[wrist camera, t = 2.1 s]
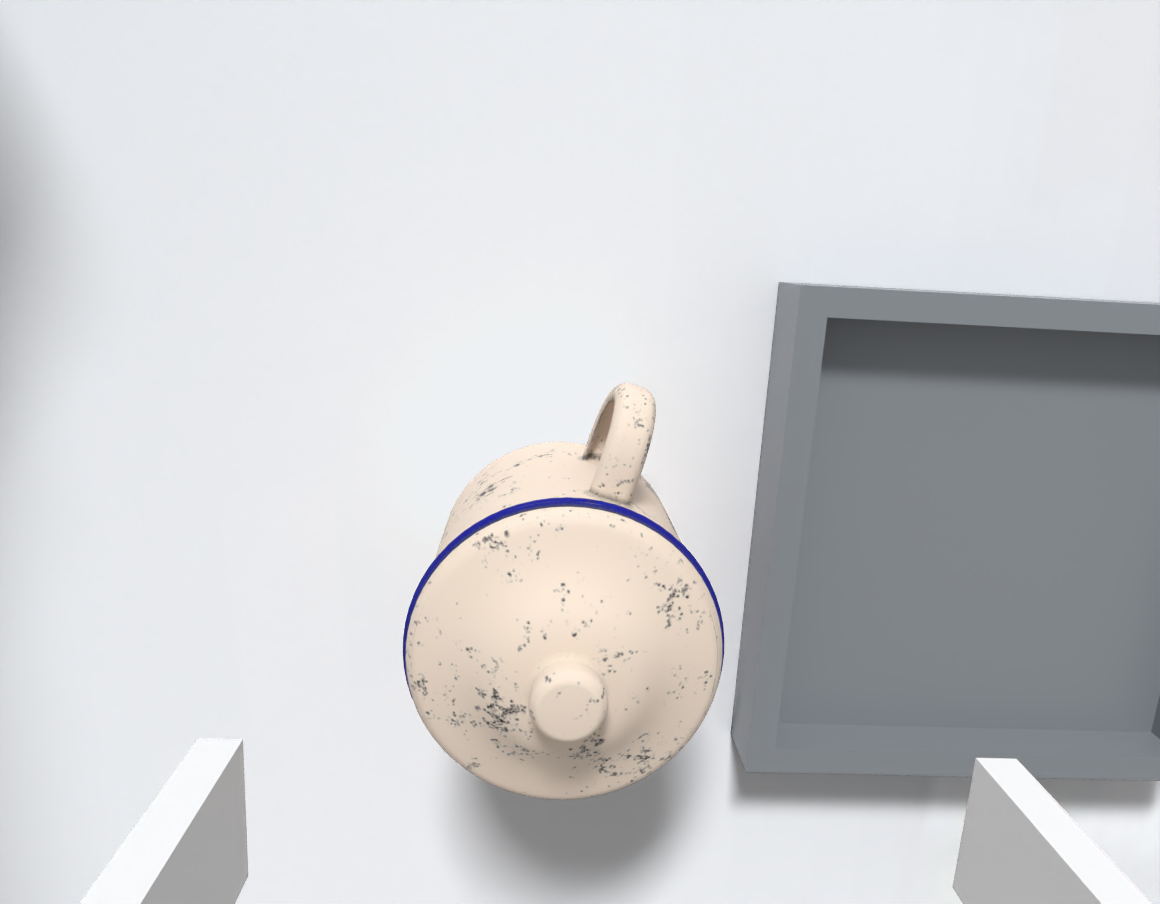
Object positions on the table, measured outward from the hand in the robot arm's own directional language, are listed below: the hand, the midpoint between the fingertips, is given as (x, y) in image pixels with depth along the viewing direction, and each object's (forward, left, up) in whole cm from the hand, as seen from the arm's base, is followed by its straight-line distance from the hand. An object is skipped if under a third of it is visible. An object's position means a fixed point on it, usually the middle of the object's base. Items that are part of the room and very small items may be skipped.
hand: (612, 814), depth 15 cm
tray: (+16, 0, -17) cm, 23 cm away
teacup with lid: (0, 0, -17) cm, 17 cm away
